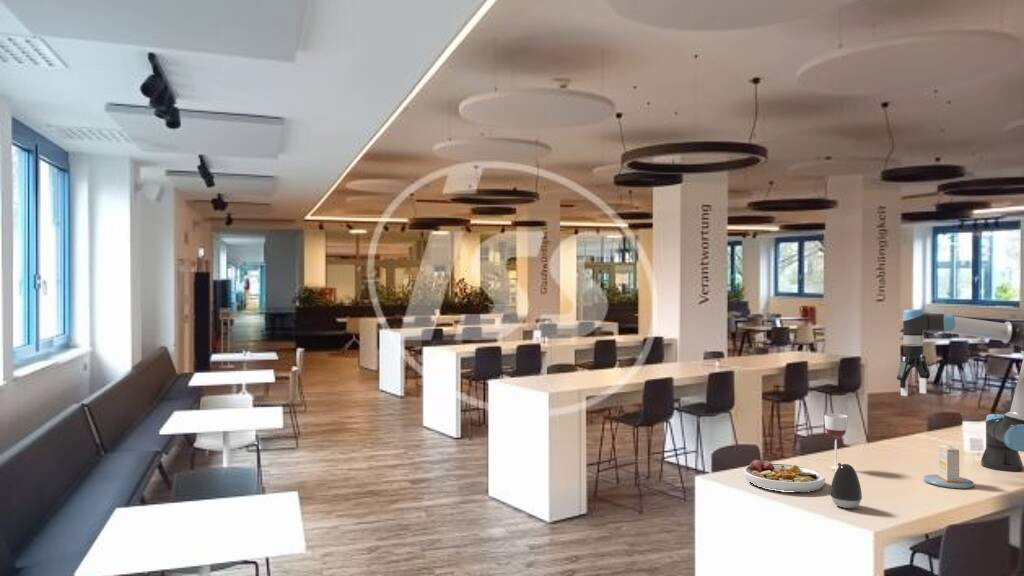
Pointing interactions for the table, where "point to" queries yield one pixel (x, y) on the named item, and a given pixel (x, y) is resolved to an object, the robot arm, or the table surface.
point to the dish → (940, 482)
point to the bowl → (784, 476)
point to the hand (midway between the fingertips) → (913, 394)
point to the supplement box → (948, 463)
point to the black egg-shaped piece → (846, 487)
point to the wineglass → (836, 428)
